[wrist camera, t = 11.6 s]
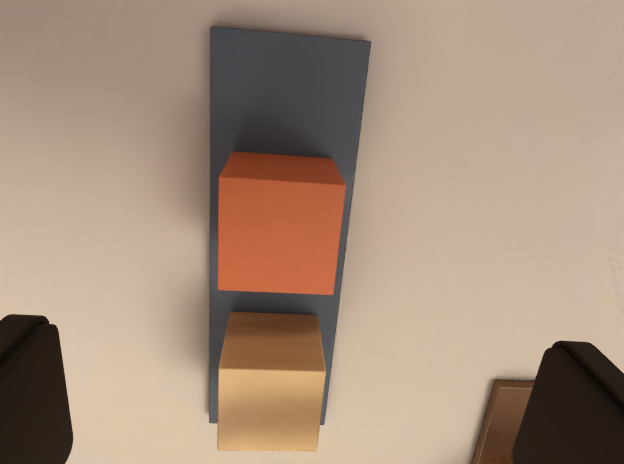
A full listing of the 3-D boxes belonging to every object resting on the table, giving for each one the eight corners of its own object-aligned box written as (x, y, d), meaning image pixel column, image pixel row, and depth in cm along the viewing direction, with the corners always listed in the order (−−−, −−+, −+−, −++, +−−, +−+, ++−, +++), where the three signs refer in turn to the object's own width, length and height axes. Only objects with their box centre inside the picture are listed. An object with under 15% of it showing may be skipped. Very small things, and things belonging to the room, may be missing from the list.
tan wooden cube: (229, 310, 22) (218, 368, 18) (318, 314, 22) (326, 371, 18) (228, 383, 24) (217, 450, 20) (310, 384, 24) (316, 451, 20)
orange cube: (231, 151, 19) (218, 176, 15) (332, 158, 20) (346, 184, 16) (229, 244, 21) (217, 290, 17) (323, 249, 21) (333, 295, 17)
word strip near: (212, 26, 18) (210, 25, 17) (368, 41, 19) (371, 41, 18) (210, 415, 25) (208, 423, 25) (323, 417, 26) (324, 425, 25)
